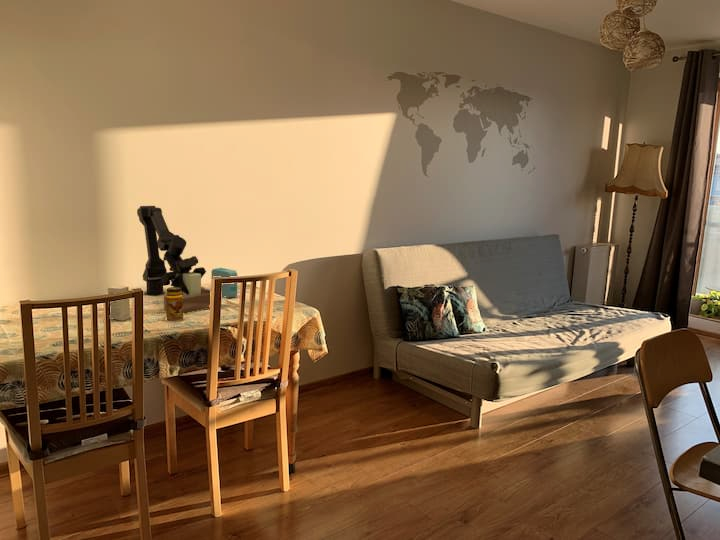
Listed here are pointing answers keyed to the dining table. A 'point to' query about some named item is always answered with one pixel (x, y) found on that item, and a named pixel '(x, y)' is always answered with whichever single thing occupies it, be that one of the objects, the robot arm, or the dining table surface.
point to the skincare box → (119, 304)
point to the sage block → (192, 284)
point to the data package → (227, 289)
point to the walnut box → (195, 301)
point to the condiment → (174, 305)
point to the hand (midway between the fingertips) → (193, 292)
